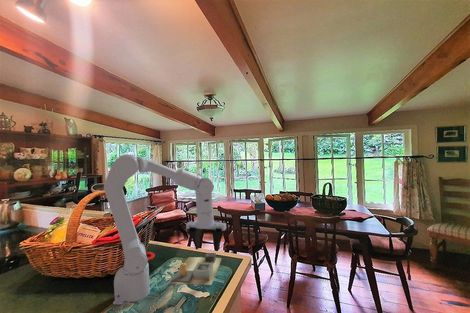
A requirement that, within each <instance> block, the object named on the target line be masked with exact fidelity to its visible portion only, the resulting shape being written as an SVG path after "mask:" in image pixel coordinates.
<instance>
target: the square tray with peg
mask: <svg viewBox="0 0 470 313" xmlns="http://www.w3.org/2000/svg"><path fill="white" fill-rule="evenodd" d="M179 266H180V267H179V269H178V270H177V272H176V273H175V275H174V276H173V277H172V279H171V280H170V283H171V282H190V281H191V279H192V277H193V271H187V265H186V264H185V262H182V263H181V264H179Z"/></svg>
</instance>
